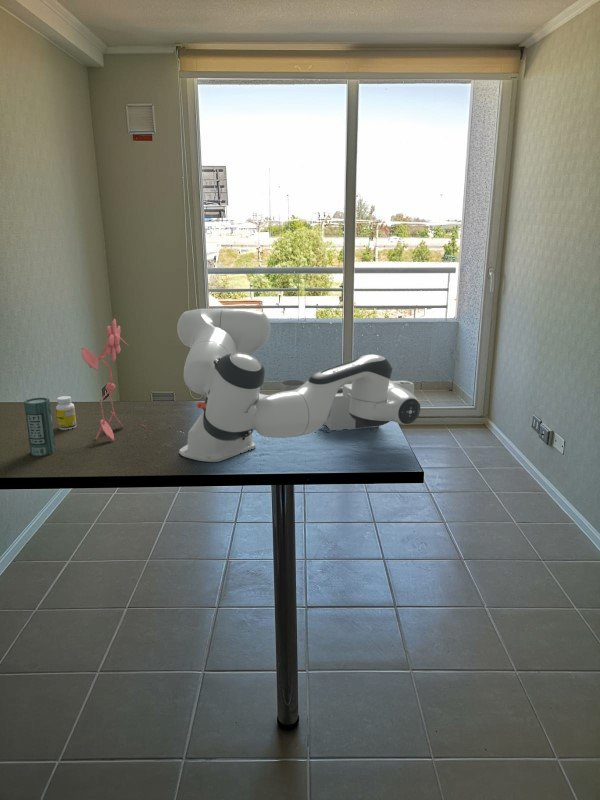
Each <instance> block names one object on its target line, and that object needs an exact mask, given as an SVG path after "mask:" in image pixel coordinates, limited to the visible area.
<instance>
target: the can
mask: <svg viewBox="0 0 600 800" xmlns="http://www.w3.org/2000/svg"><path fill="white" fill-rule="evenodd" d="M23 405H24V406H23V407H24V413H25V420H26V426H27V434H28V435H27V436H28V442H29V449H30V455H31V456H34V457H46V456H48V455H50V456H51V454H52V455H53V454H54V453H55V452H56V443H55V434H54V427H53V425H54V424H53V419H52V411H51V402H50V398H48V397H33V398H29V399H26V400H24V401H23Z"/></svg>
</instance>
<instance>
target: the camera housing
mask: <svg viewBox="0 0 600 800" xmlns="http://www.w3.org/2000/svg"><path fill="white" fill-rule="evenodd" d="M349 404H350V400H349V399H347V398H345V397H344V396H343V386H341V387H340V388H339V390H338V391H337V393H336V395H335V398H334V400H333V403H332V406H331V409H330V412H329V415H328V417H327V419H326V421H325V423H324V424H325V425H326V426H327V427H328V428H329V429H330V430H336V431H344V430H343V429H348V430H357V429H358V430H359V429H367V428H368V429H369V428H370V429H371V428H379V427H380V426H367V425H363V424H361V423H359V422H357V421H356V420H355V419H353V418H352V416H351V415H350V414H349ZM324 424H323V425H324ZM325 425H324V426H325ZM326 426H325V427H326ZM327 427H326V428H327ZM328 428H327V429H328ZM329 429H328V430H329ZM330 430H329V431H330Z"/></svg>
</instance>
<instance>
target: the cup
mask: <svg viewBox="0 0 600 800" xmlns="http://www.w3.org/2000/svg"><path fill="white" fill-rule="evenodd" d="M305 383H306V381H303V380H299V379H286V380H282V381H281V382H280V392H284V391H291V390H295V389H297V388H299V387H301V386H302V385H303V384H305Z"/></svg>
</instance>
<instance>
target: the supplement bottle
mask: <svg viewBox="0 0 600 800" xmlns="http://www.w3.org/2000/svg"><path fill="white" fill-rule="evenodd" d="M56 400H57V403H58V404H57V405H56V406H55V410H56V418H57V428H58V429H59V430H62V431H68V429H69V430H73V429H75V428H77V418H76V410H75V408H76V407H75V404H74V403H72V397H71V396H70V395H69V396H68V395H63V396H59V397H57V399H56ZM72 428H73V429H72Z"/></svg>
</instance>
